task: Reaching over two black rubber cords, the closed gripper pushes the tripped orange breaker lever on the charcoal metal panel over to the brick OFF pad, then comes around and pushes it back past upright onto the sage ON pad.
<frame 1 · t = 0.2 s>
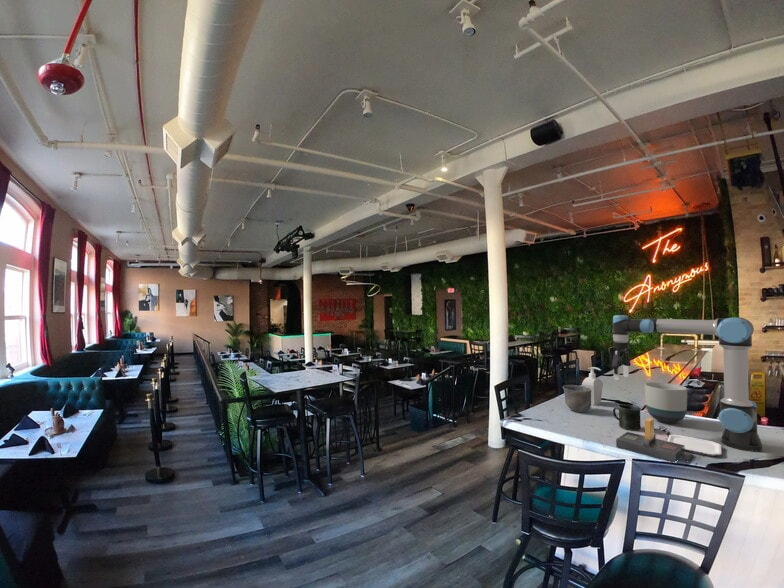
hand: (621, 378, 214), 28 cm above the counter, fingers open, 13 cm apart
cup: (577, 410, 245), on the counter
cord b: (689, 459, 169), on the counter
mug: (626, 427, 212), on the counter
plate: (693, 448, 183), on the counter
panel: (649, 450, 179), on the counter
soap bottle: (593, 404, 261), on the counter
cord a: (645, 443, 188), on the counter
planter: (666, 421, 222), on the counter
lever: (649, 430, 179), point 10 cm above the counter, hinge at 0.0°
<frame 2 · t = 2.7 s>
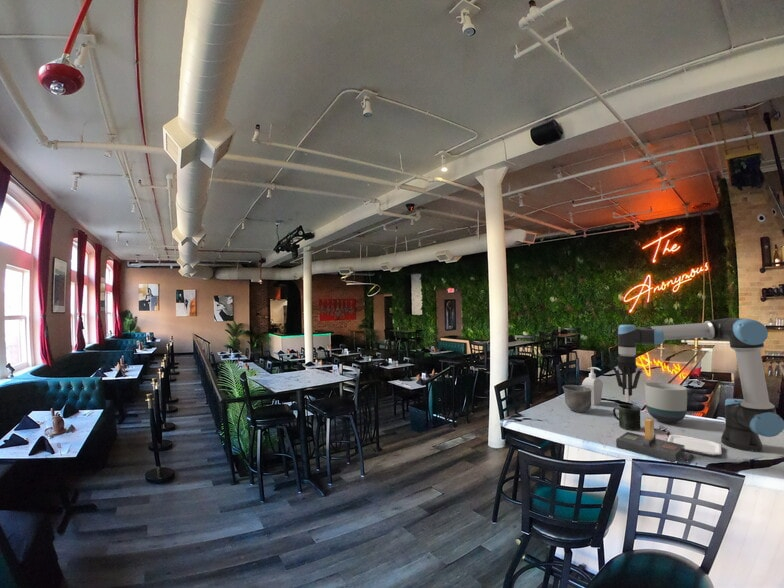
hand: (627, 401, 187), 22 cm above the counter, fingers closed
nothing on the counter moved.
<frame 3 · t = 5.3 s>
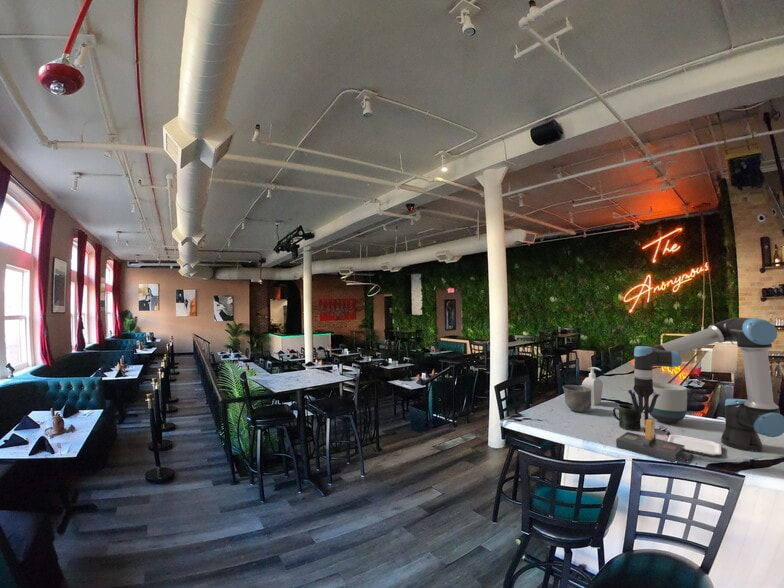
hand: (643, 425, 181), 11 cm above the counter, fingers closed
lever: (649, 430, 179), point 10 cm above the counter, hinge at -2.7°, touching gripper
everything else where it was.
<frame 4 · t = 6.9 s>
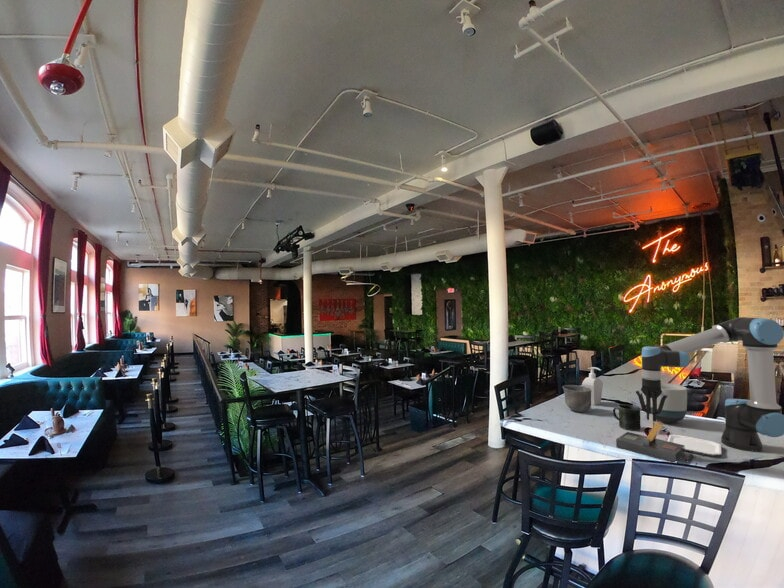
hand: (651, 427, 179), 12 cm above the counter, fingers closed
lever: (654, 432, 178), point 9 cm above the counter, hinge at -25.4°
everything else where it was.
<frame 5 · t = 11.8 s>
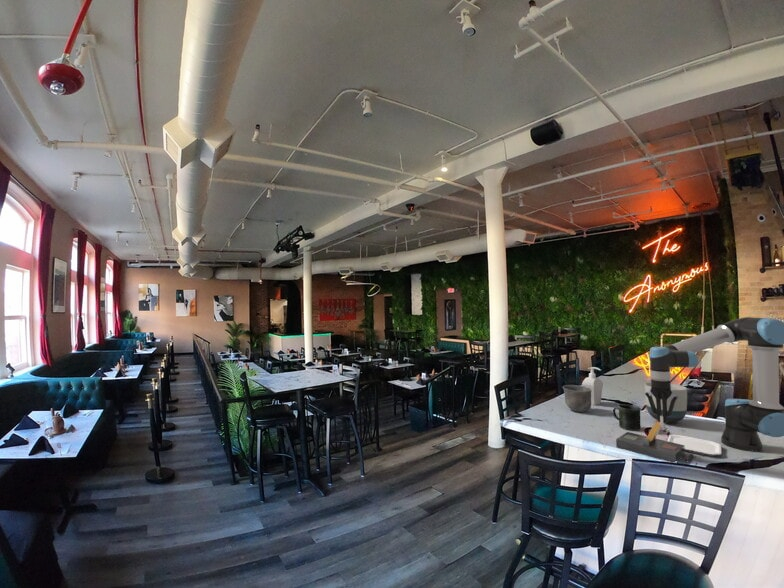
hand: (662, 429, 175), 12 cm above the counter, fingers closed
lever: (653, 432, 178), point 9 cm above the counter, hinge at -23.6°, touching gripper
everything else where it was.
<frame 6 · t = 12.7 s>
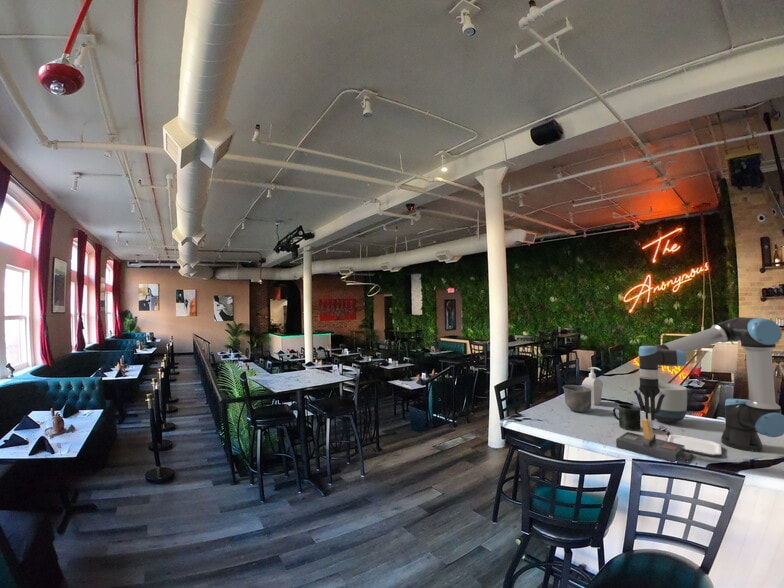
hand: (650, 426, 179), 12 cm above the counter, fingers closed
lever: (648, 430, 180), point 10 cm above the counter, hinge at 7.1°, touching gripper
everything else where it was.
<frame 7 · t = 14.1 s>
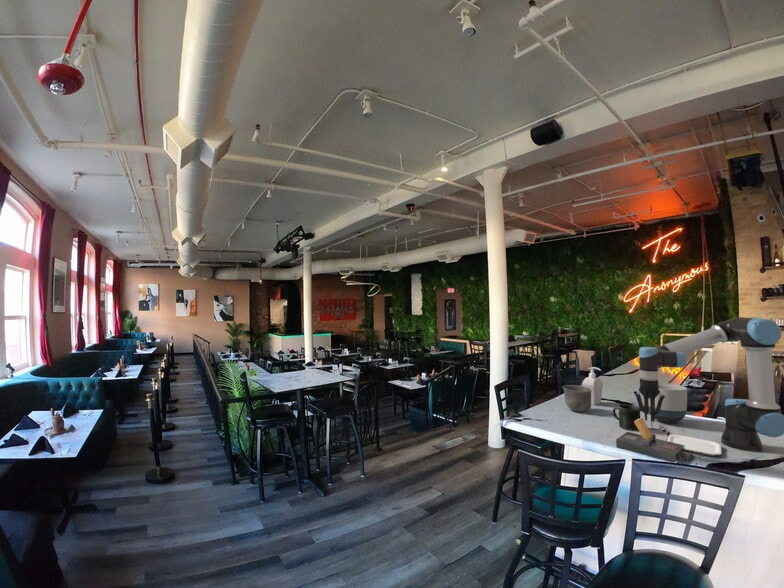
hand: (650, 427, 179), 11 cm above the counter, fingers closed
lever: (644, 430, 181), point 9 cm above the counter, hinge at 27.9°
everything else where it was.
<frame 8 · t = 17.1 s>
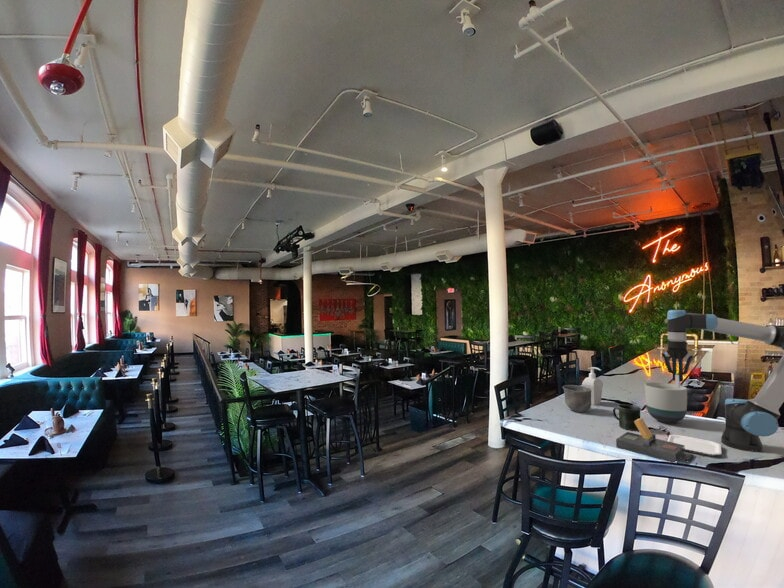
hand: (677, 387, 185), 29 cm above the counter, fingers closed
nothing on the counter moved.
at the end: lever at +28° (first picture: +0°) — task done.
